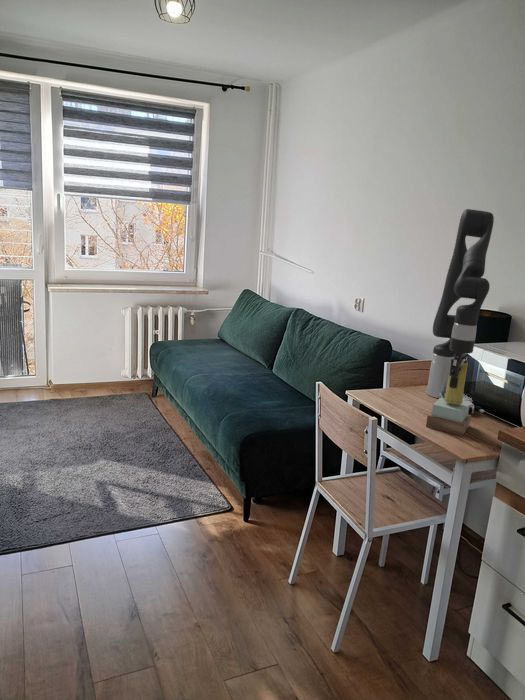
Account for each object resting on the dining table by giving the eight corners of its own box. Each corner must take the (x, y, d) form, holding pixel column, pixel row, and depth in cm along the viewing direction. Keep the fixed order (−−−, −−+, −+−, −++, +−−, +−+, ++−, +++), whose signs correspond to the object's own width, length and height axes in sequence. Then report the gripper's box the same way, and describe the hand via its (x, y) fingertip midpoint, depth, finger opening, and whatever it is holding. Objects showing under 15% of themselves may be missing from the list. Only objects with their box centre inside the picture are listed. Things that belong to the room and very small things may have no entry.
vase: (466, 404, 187) (473, 363, 184) (452, 405, 185) (459, 363, 182) (453, 398, 193) (460, 358, 189) (439, 399, 190) (446, 359, 187)
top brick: (438, 408, 197) (440, 397, 196) (467, 415, 192) (469, 404, 191) (431, 415, 188) (433, 404, 187) (461, 423, 183) (463, 411, 182)
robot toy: (485, 419, 205) (466, 402, 219) (487, 407, 204) (468, 392, 218) (454, 417, 203) (437, 401, 218) (456, 406, 202) (439, 390, 216)
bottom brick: (434, 417, 199) (436, 406, 198) (469, 426, 193) (471, 415, 192) (425, 426, 189) (427, 415, 188) (462, 435, 183) (464, 424, 182)
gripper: (470, 342, 176) (461, 393, 180) (479, 336, 188) (470, 383, 192) (446, 338, 180) (438, 388, 183) (456, 332, 192) (448, 379, 196)
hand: (454, 385), depth 188 cm, fingers closed on vase, 5 cm apart
